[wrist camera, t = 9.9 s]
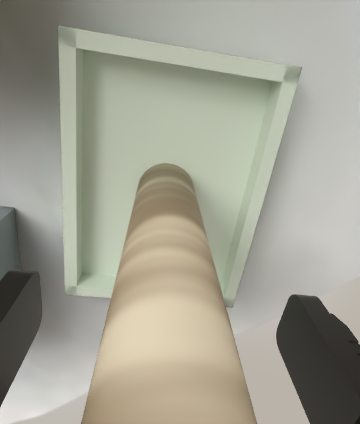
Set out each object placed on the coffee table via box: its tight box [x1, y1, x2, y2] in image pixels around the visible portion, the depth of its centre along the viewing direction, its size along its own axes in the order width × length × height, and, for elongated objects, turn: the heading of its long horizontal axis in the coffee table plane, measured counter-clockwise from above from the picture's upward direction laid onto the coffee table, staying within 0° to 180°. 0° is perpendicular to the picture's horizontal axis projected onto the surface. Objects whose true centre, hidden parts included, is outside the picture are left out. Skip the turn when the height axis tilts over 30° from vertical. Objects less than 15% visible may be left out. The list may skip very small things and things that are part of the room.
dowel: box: [81, 163, 257, 424], centre depth 12 cm, size 4×4×15 cm
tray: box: [58, 25, 302, 307], centre depth 19 cm, size 16×12×2 cm
